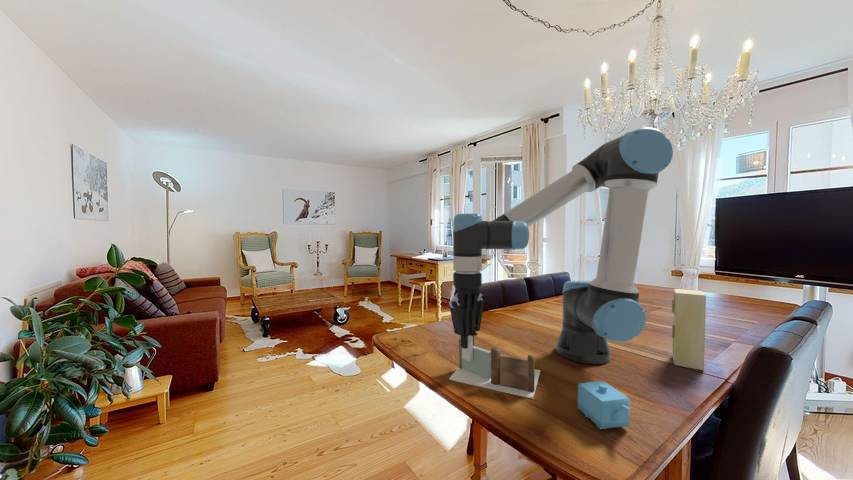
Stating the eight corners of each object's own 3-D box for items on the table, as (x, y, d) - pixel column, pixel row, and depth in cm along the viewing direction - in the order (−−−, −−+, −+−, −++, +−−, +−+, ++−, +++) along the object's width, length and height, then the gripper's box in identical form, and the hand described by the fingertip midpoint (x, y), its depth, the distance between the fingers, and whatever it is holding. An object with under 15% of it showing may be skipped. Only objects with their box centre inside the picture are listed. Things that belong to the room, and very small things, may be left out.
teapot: (643, 441, 59) (644, 402, 58) (614, 445, 58) (615, 406, 57) (597, 405, 70) (598, 372, 70) (573, 408, 69) (573, 375, 69)
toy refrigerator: (669, 355, 97) (671, 287, 96) (700, 361, 93) (702, 290, 92) (670, 364, 90) (672, 292, 89) (704, 371, 86) (706, 295, 85)
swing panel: (491, 377, 82) (491, 347, 81) (488, 379, 80) (488, 349, 80) (461, 365, 89) (461, 337, 88) (457, 367, 88) (457, 339, 87)
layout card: (540, 371, 86) (540, 369, 86) (533, 398, 73) (533, 396, 73) (467, 357, 96) (467, 356, 96) (449, 379, 82) (449, 377, 82)
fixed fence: (535, 388, 77) (535, 354, 76) (533, 393, 75) (534, 358, 74) (492, 379, 81) (492, 347, 81) (489, 383, 79) (489, 350, 79)
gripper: (473, 268, 90) (473, 348, 91) (439, 272, 82) (440, 360, 83) (494, 271, 84) (493, 357, 85) (459, 275, 76) (459, 370, 77)
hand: (467, 358), depth 84 cm, fingers closed
